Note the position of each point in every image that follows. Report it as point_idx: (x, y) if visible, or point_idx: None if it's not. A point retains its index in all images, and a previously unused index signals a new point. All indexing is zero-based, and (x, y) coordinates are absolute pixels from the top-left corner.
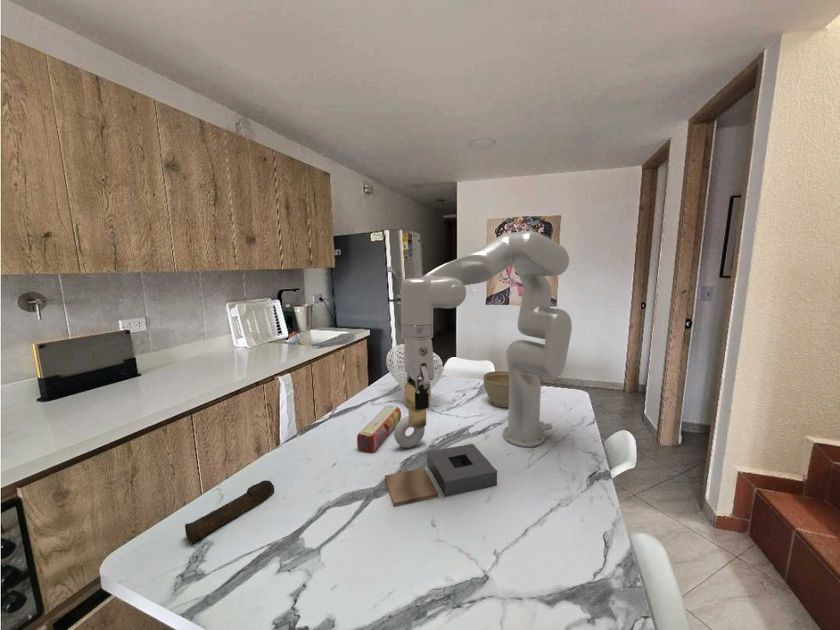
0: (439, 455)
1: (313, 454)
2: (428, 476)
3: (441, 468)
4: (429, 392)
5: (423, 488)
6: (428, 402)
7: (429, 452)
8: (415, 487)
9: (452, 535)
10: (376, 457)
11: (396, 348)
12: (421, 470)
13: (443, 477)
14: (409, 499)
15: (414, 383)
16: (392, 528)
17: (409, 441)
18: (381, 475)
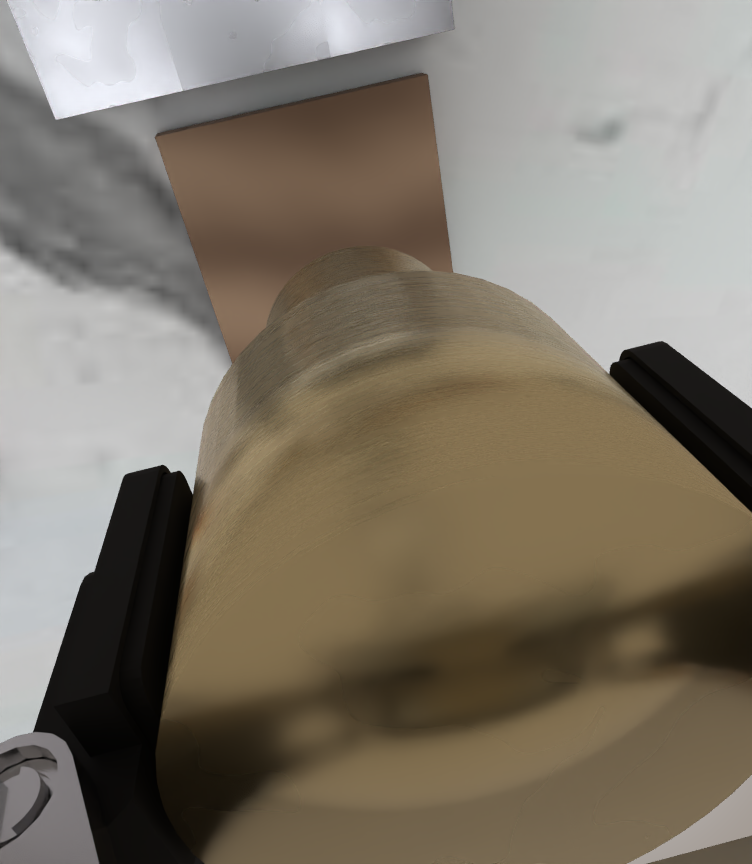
0: (105, 9)
1: (39, 687)
2: (257, 119)
3: (294, 25)
4: (650, 425)
5: (372, 165)
6: (710, 377)
7: (66, 98)
8: (358, 213)
9: (699, 41)
10: (25, 428)
11: None
12: (187, 162)
13: (403, 30)
14: (448, 250)
15: (365, 804)
16: (576, 319)
17: None
18: (205, 388)
